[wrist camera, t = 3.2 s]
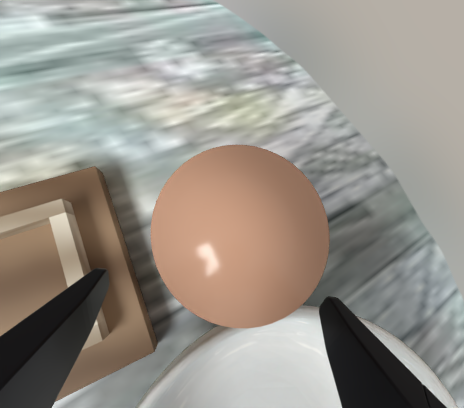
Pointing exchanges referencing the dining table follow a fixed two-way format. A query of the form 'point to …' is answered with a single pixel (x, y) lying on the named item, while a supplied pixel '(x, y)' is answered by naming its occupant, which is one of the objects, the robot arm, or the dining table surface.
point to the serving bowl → (268, 368)
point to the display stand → (72, 268)
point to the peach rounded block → (240, 236)
